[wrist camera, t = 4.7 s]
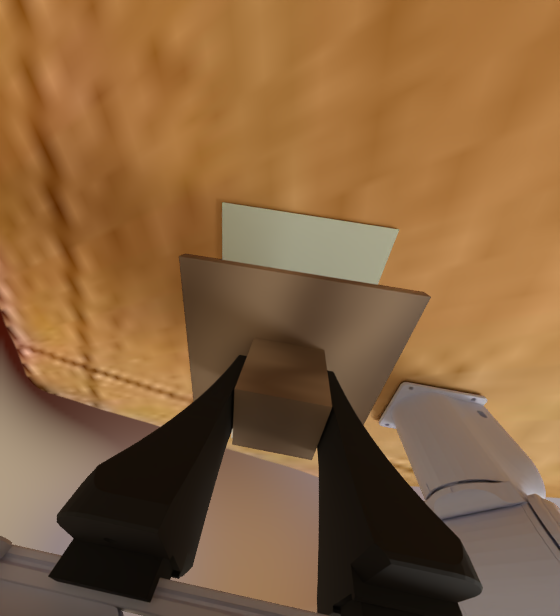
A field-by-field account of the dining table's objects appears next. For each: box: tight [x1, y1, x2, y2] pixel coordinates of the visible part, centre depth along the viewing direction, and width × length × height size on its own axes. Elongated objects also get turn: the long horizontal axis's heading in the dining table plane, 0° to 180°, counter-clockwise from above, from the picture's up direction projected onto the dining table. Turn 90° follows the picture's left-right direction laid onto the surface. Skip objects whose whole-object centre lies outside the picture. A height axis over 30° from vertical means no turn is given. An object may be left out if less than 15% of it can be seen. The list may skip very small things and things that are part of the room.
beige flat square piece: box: [222, 202, 399, 285], centre depth 20 cm, size 14×15×1 cm
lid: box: [179, 254, 431, 460], centre depth 11 cm, size 12×12×4 cm
